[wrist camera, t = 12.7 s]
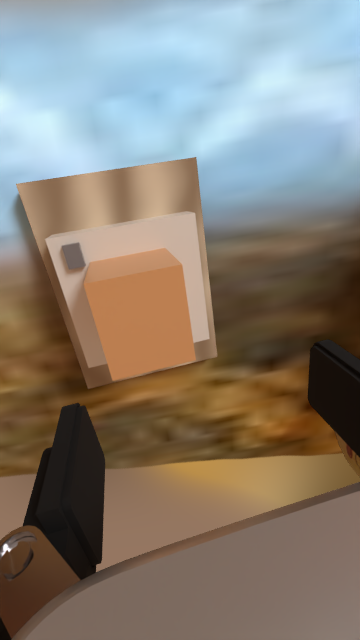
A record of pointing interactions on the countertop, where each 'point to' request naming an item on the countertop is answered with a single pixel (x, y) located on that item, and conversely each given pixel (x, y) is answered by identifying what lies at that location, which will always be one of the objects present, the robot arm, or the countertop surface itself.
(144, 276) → the orange block
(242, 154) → the countertop surface
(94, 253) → the socket
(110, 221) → the board
